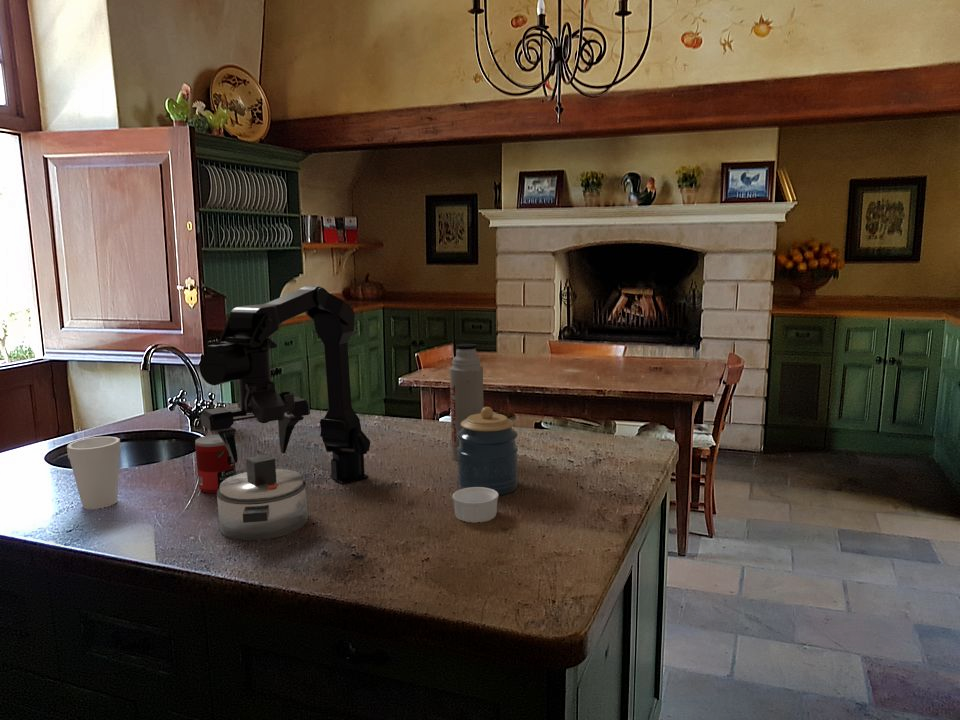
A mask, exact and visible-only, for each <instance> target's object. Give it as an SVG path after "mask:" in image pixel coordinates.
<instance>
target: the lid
mask: <svg viewBox="0 0 960 720" xmlns="http://www.w3.org/2000/svg"><path fill="white" fill-rule="evenodd" d="M245 462H246V463H245V464H246V471H244V472H242V473H236V475H234V476H232V477H229V478H227V479H225V480H224V481H223V482H222V483H221V484H220V494H221V496H222V497H224V498H226V499H228V500H232V501H239V502H257V501H267V500H273V499H277V498H281V497H285V496H288V495H290V494H293V493H295V492H297V491H298V490H300V489H301V488H302V487H303V480H304V477H303V474H301V473H299V472H297V471H295V470H291V469H285V468H276V467H277V466H276V458H275V457H272V455H269V454H268V453H265V454H260V455H255V456H250V457H246V458H245Z"/></svg>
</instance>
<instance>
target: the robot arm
mask: <svg viewBox="0 0 960 720" xmlns="http://www.w3.org/2000/svg"><path fill="white" fill-rule="evenodd" d="M229 313H230V315H229V317H228V319H227V321H226V323H225V326H224V328H223V330H222V331H221V335H220V337H219V339H218V342H217V344H210V345H207V352H206V353H204V355H203V356H202V357H201V360H200V363H199V372H200V376H201V377H202V379H203V380H204V382H205V383H207V384H208V385H211V386H218V385H222V384H226V383H230V382H234V381H235V382H236V386H237V387H238V394H239V401H238V402H237V408H239V409H237V410H230V409H229V410H228V408H225V407H223V406H222V407H217V408H210V409H203V411H202V412H201V414H200V423H201V426H202V427H204V428H206V429H208V430H209V431H213V432H214V433H216V434H217V435H218V434H219V436H220V437H221V439H222V440H223V442H224V444H225V446H226V448H227V450H228V452H229V454H230V456H231V458H232V460H233V462H234V463H235V464H236V463H238V451H237V444H236V439H235V434H236V428H235V427H232V426H233V425H234V424H235V423H234V422H238V421H243V420H244V421H245V420H250V419H256V421H257V422H258V423H261V424H268V423H269V422H274V421H277V425H278V439H279V447H280V452H281V454H286V452H287V449H288V446H289V442H290V438H291V436H292V432H293V431H294V428H295V426H296V425H297V424H298V423H299V422H300V421H303V420H304V416H309V415H310V414H311V405H310V403H309V401H307V400H306V399H304V398H301V397H299V396H295V395H294V392H293V391H292V390H286V391H285V390H284V391H281V392H277V391H276V388H275V383H274V381H273V380H272V373H271V360H270V359H271V358H270V357H271V356H270V350H273V349H275V348H277V347H278V344H277V343H276V342H274V341H273V340H271V338H270V337H271V336H272V335H274V334H275V333H277V332H278V330H280V325H281V324H283V323H284V322H287V321H288V320H291V319H293V318H296V317H297V316H299V315H301V314H303V313H305V315H306V316H307V317H308V318H310V320H312V321H313V325H314V331H315V333H316V335H317V336H318V338H319V339H320V341H321V343H322V344H323V347H324V348H323V349H324V350H323V351H324V363H325V377H326V390H327V391H326V392H327V404H328V408H327V409H328V410H327V412H326V413H325V415H324V417H323V418H320V420H319V427H320V435H319V437H321V440H322V442H323V444H324V448H325V451H326V452H327V453H331V454H332V458H331V460H330V468H331V469H330V471H331V472H330V473H331V474H330V475H329V477H330V478H332V479H333V480H335V481H337V482H339V483H341V484H348V483H351V482H357V481H360V480H365V479H368V478H369V475H368V474H366V473H365V455H366V454H367V453H368V452H369V451H370V448H371V440H370V439H369V437H367V435H366V434H365V432H363V431H362V426H361V425H362V424H361V420H360V417H359V416H358V414H357V413H356V411H355V410H354V409H353V407H352V396H351V395H352V392H351V379H350V376H351V375H350V365H349V347H348V346H349V345H348V343H349V341H350V339H351V337H352V335H353V333H354V331H355V317H356V316H355V311H354V308H353V307H352V306H351V305H350V304H349V303H347V302H345V301H344V300H343V299H342V298H340V297H337V296H335V295H333V294H332V293H330V292H329V291H328V290H327V289H325V287H322V286H321V285H320V286H317V285H316V286H309V285H304V286H301V287H300V288H299V289H297V290H296V291H295V290H294V291H293V292H290V293H288V294H285V295H283V296H281V297H278V298H276V299H273V300H270V301H268V302H266V303H262V304H259V303H258V304H248V305H241V306H236V307H234V308H232V309H231V311H230V312H229Z"/></svg>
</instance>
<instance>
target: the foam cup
mask: <svg viewBox="0 0 960 720" xmlns="http://www.w3.org/2000/svg"><path fill="white" fill-rule="evenodd" d="M66 451H67V458H68V459H69V463H70V465H71V469H72V472H73V476H74V481H75V484H76V488H77V491H78V494H79V498H80V503H81V504H82V505H81V506H82V508H83V509H85V510H90V509H91V510H100V509H99V508H101V509H105V508H104V507H106V508H109V507H111V505H112V506H114V505H116V504H117V502H118V498H119V481H120V480H119V478H120V477H119V476H120V455H121V454H120V453H121V451H122V447H121V439H120V438H118V437H117V436H109V435H108V436H96V437H93V436H92V437H86V438H82V439H78V440H75V441H73V442H70V443H68V444H67V446H66ZM115 503H116V504H115ZM113 504H114V505H113ZM108 506H109V507H108Z"/></svg>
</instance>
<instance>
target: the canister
mask: <svg viewBox="0 0 960 720" xmlns="http://www.w3.org/2000/svg"><path fill="white" fill-rule="evenodd" d="M483 407H484V408H483V409H482V410H481V414H474V415H471V416H469V417H467V419H465V420H463V421H462V422H461V426H462V427H463V428H462V430H460V431H459V432H458V433H457V437H458V438H459V439H460V443H459V447H458V448H457V452H458V461H457V462H458V463H457V464H458V465H457V471H458V475H457V483H458V487H459V488H458V489H459V490H460V489H464V488H470V487H485V488H490V489H493V490H495V491H497V492H498V494H499V496H503V495H507V494H510V493H512V492H514V491H515V490H516V489H517V486H518V482H519V479H518V478H519V474H518V451H519V449H518V446H517V445H516V439H517V437H518V435H519V433H518V432H517V431H516V430H515V429H514V428H513V426H514V424H515V423H514V421H513V420H512V419H509V418H508V417H507V416H506V415H504V414H501V413H495V412H494V410H493V409H492V408H491V407H490V406H483Z"/></svg>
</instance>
